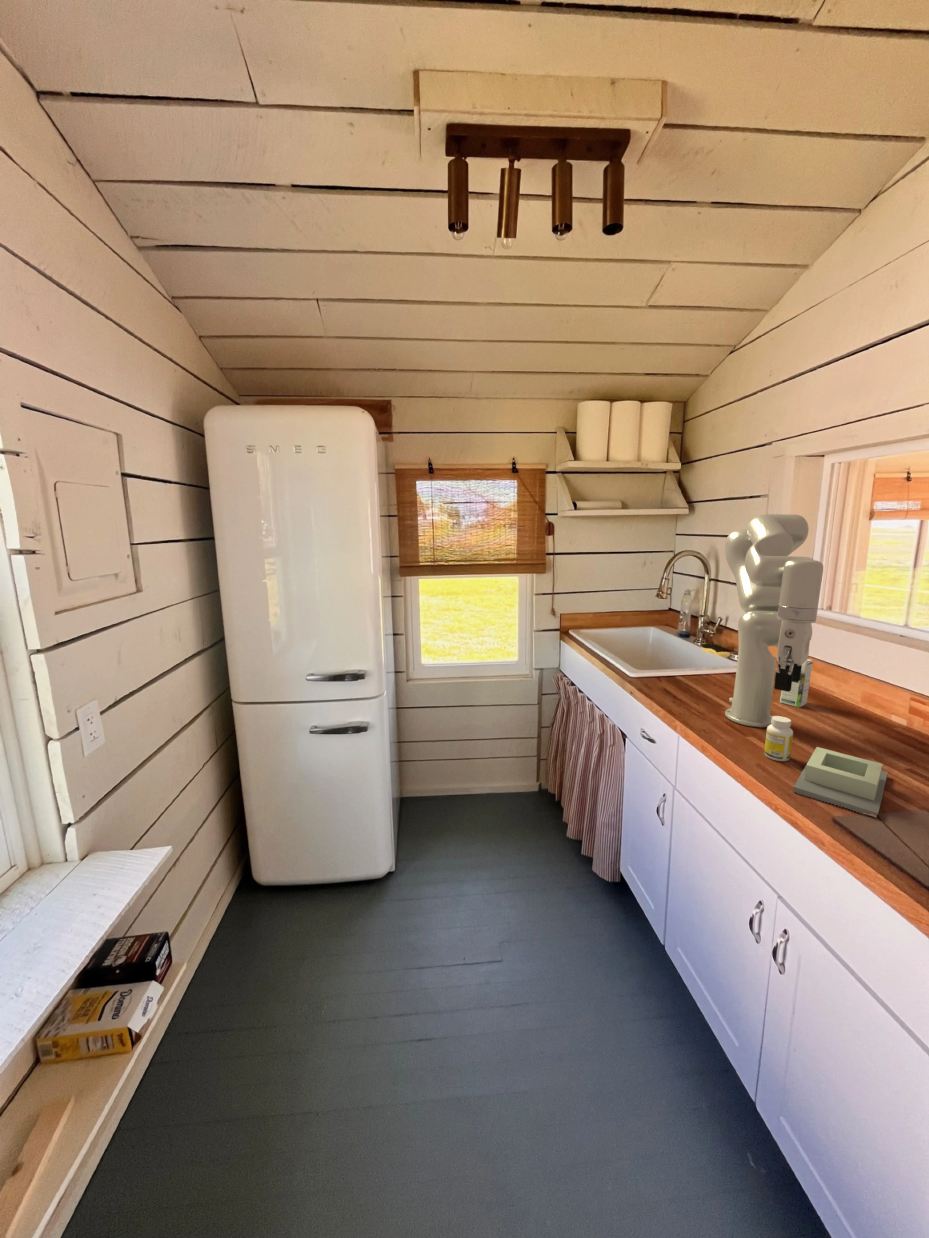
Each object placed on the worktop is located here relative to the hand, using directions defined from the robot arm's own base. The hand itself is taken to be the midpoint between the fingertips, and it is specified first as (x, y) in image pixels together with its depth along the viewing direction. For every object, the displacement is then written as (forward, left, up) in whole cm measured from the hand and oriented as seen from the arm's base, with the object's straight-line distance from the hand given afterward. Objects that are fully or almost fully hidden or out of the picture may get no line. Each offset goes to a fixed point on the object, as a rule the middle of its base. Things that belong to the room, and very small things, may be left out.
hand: (787, 685), depth 119 cm
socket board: (+13, +6, -18) cm, 23 cm away
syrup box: (-35, +28, -19) cm, 49 cm away
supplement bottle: (0, 0, -19) cm, 19 cm away
